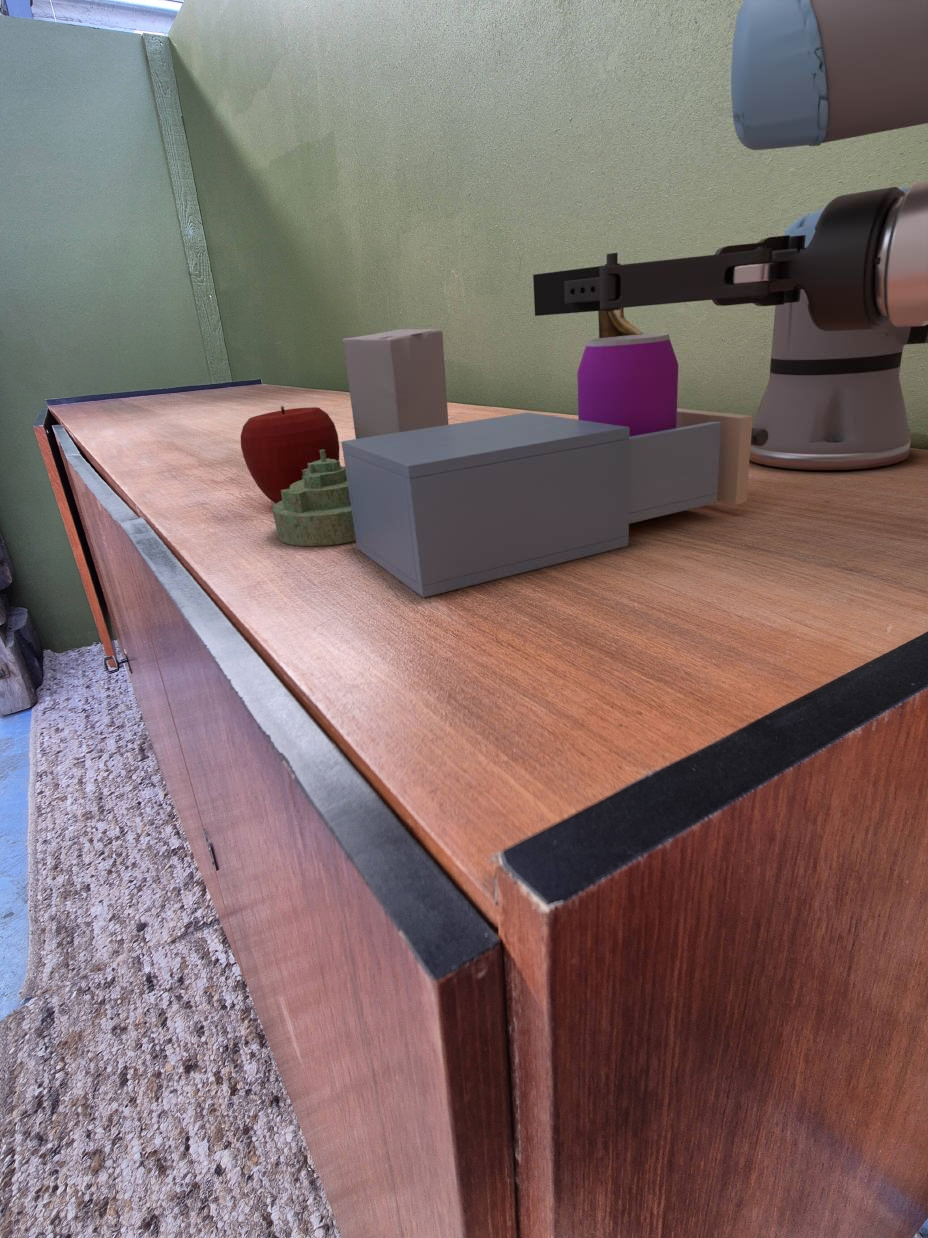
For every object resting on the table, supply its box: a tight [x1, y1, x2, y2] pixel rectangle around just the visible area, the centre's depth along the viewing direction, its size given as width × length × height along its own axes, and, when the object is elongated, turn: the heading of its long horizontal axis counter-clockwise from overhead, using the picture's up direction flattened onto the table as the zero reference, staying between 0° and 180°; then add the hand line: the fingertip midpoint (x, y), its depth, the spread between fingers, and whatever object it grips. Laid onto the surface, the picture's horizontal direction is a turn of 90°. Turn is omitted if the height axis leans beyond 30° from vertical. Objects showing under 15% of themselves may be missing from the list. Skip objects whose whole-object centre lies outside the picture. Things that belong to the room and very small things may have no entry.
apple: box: [240, 405, 340, 505], centre depth 72 cm, size 10×10×10 cm
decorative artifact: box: [272, 450, 356, 547], centre depth 62 cm, size 10×7×10 cm
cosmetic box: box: [342, 328, 450, 439], centre depth 72 cm, size 8×7×16 cm
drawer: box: [629, 407, 768, 525], centre depth 59 cm, size 20×12×7 cm, turn 116°
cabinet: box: [340, 412, 630, 599], centre depth 53 cm, size 17×14×9 cm
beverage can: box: [576, 333, 679, 437], centre depth 57 cm, size 8×8×12 cm
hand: (590, 290), depth 55 cm, fingers open, 13 cm apart
